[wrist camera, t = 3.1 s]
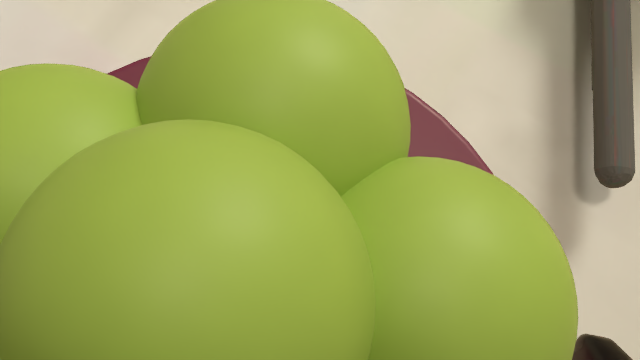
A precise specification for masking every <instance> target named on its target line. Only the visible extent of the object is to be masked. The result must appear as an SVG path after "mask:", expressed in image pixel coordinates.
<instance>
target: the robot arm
mask: <svg viewBox="0 0 640 360" xmlns="http://www.w3.org/2000/svg"><path fill="white" fill-rule="evenodd" d="M572 360H632V359H631V358H630V357H629V356H628V355H627V354H626V353H625V352H624V351H623V350H622V349H621V348H620V347H619V346H618V345H617V344H616V343H615V342H614V341H612V340H611V339H609V338H605V337H600V336H595V335H589V334H583V335H580V336H579V337H578V339H577V340H576V343H575V348H574V352H573V357H572Z"/></svg>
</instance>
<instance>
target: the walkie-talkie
mask: <svg viewBox="0 0 640 360" xmlns="http://www.w3.org/2000/svg"><path fill="white" fill-rule="evenodd" d="M591 49H592V90H593V122H594V171H595V175H596V177H597V178H598V180H599V182H600V183H601V184H602V185H604V186H605V187H608V188H619V187H622V186H624V185H626V184H627V183H629V182H630V181H631V180H632V178H633V176H634V173H635V152H634V117H633V82H632V47H631V12H630V0H591Z"/></svg>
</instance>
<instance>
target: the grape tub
mask: <svg viewBox="0 0 640 360" xmlns="http://www.w3.org/2000/svg"><path fill="white" fill-rule="evenodd" d="M577 326H578V306H577V295H576V290H575V284H574V279H573V275H572V272H571V269H570V266H569V263H568V260H567V257H566V255H565V253H564V251H563V249H562V246H561V244H560V242H559V240H558V239H557V237H556V235H555V234H554V232H553V230H552V229H551V227H550V226H549V224H548V223H547V222H546V220H545V219H544V218H543V217H542V215H541V214H540V213H539V211H538V210H537V209H536V208H535V207H534V206H533V205H532V204H531V203H530V202H529V201H528V200H527V199H526V198H525V197H524V196H523V195H521V194H520V193H519V192H518V191H516V190H515V189H514V188H512V187H511V186H510V185H509V184H507V183H505V182H504V181H502V180H500V179H499V178H497V177H496V176H494V175H493V173H492V172H491V170H490V169H489V168H488V166H487V165H486V164H485V163H484V161H483V160H482V159H481V157H480V156H479V155H478V154H477V152H476V151H475V150H474V148H473V147H472V146H471V145H470V143H469V142H468V141H467V140H466V139H465V138H464V137H463V136H462V135H461V134H460V133H459V132H458V131H457V130H456V129H455V128H454V127H453V126H452V125H451V124H450V123H449V122H448V121H447V120H446V119H445V118H444V117H443V116H442V115H441V114H439V113H438V112H437V111H435V110H434V109H433V108H432V107H430V106H429V105H428V104H426V103H425V102H424V101H423V100H421V99H420V98H419V97H417V96H416V95H415V94H414V93H412V92H410V91H409V90H407V89H405V88H404V85H403V82H402V80H401V77H400V75H399V72H398V70H397V68H396V66H395V64H394V63H393V61H392V59H391V58H390V56H389V54H388V52H387V51H386V49H385V48H384V46H383V45H382V44H381V43H380V41H379V40H378V39H377V37H376V36H375V35H374V34H373V33H372V32H371V31H370V30H369V29H368V28H367V27H366V26H365V25H364V24H362V23H361V22H360V21H358V20H357V19H356V18H355V17H353V16H352V15H351V14H349V13H348V12H347V11H345V10H343V9H342V8H340V7H338V6H336V5H335V4H333V3H331V2H328V1H326V0H215V1H213V2H211V3H208V4H207V5H205V6H203V7H201V8H200V9H198V10H196V11H194V12H193V13H191V14H190V15H189V16H187V17H186V18H185V19H183V20H182V21H181V22H180V23H179V24H178V25H176V26H175V27H174V28H173V29H172V30H171V31H170V32H169V33H168V34H167V36H166V37H165V38H164V39H163V40H162V42H161V43H160V44H159V45H158V47H157V49H156V50H155V52H154V53H153V55H152V56H151V57H148V58H144V59H141V60H138V61H136V62H133V63H131V64H129V65H126V66H124V67H122V68H119V69H117V70H115V71H112V72H110V73H108V74H105V73H102V72H99V71H96V70H93V69H90V68H85V67H80V66H74V65H64V64H30V65H24V66H18V67H12V68H9V69H5V70H2V71H0V360H572V357H573V352H574V348H575V343H576V339H577Z"/></svg>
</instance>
